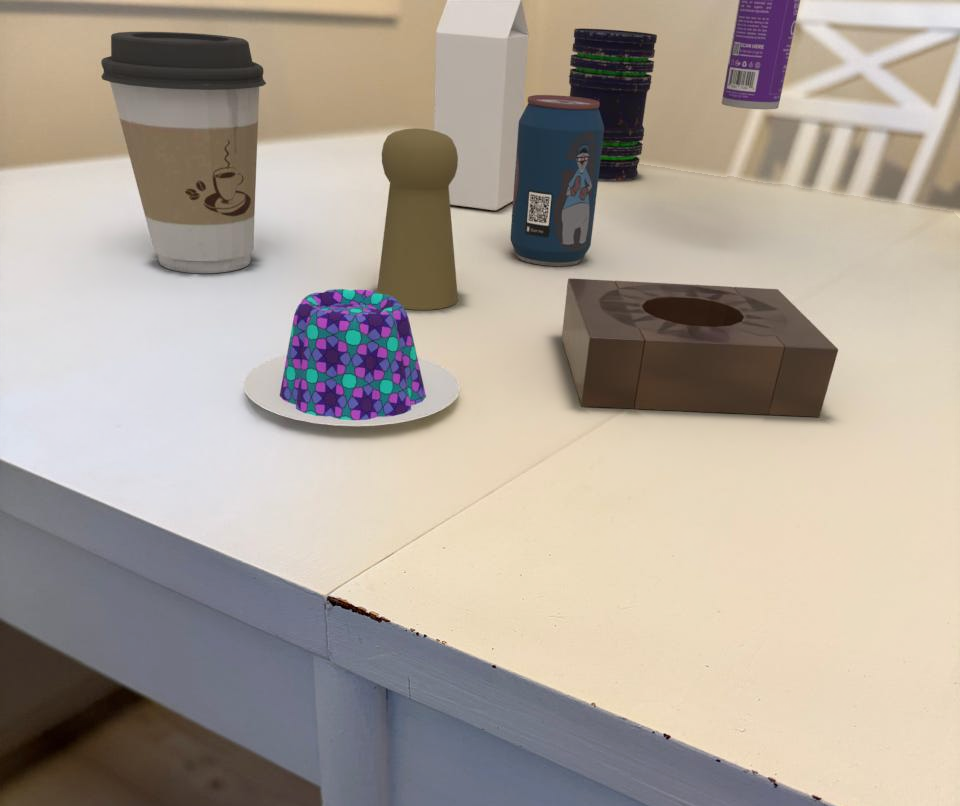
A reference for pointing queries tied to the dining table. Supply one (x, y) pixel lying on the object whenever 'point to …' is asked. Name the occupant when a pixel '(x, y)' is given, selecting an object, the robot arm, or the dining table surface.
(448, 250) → the cork
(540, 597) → the dining table surface
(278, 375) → the pudding
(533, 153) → the soda can
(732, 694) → the dining table surface
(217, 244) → the coffee cup
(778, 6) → the container
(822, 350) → the socket board
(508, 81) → the milk carton
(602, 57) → the black striped cylinder
